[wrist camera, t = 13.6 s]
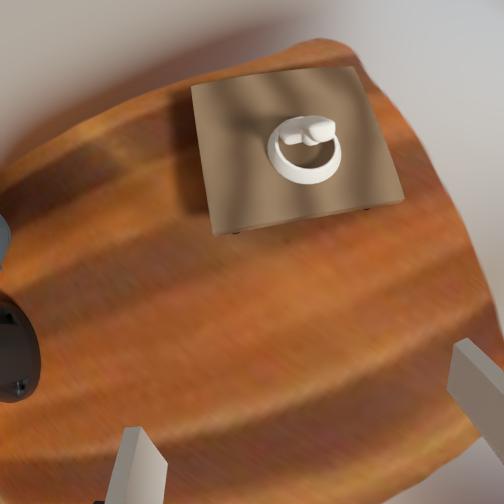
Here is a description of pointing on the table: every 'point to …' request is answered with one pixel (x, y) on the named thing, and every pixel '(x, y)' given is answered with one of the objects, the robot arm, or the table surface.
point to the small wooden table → (289, 148)
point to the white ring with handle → (310, 134)
